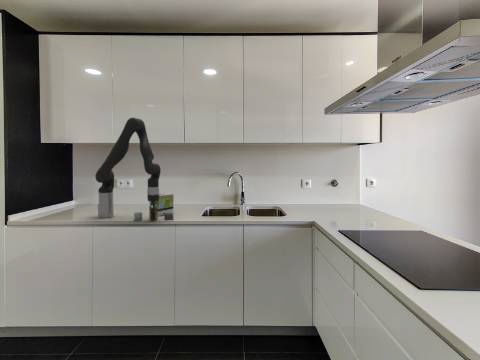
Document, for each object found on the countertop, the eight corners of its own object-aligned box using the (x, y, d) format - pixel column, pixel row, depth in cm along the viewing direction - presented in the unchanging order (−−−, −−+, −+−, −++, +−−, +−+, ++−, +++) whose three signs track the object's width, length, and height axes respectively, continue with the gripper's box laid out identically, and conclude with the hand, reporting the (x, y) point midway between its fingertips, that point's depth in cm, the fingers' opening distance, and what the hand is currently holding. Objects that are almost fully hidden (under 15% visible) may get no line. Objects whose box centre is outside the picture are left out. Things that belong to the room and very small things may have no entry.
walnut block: (149, 220, 199) (149, 211, 198) (150, 219, 203) (150, 210, 203) (156, 220, 200) (156, 211, 199) (157, 219, 204) (157, 210, 203)
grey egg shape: (133, 221, 197) (133, 213, 197) (135, 219, 202) (134, 212, 202) (141, 221, 198) (141, 213, 197) (142, 219, 203) (142, 212, 202)
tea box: (158, 216, 213) (158, 195, 211) (149, 215, 218) (148, 194, 217) (173, 213, 225) (173, 193, 224) (164, 211, 231) (164, 192, 229)
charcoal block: (165, 220, 200) (165, 214, 200) (164, 219, 205) (164, 213, 204) (173, 220, 202) (173, 214, 202) (171, 218, 207) (171, 212, 206)
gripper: (149, 192, 206) (149, 216, 208) (145, 195, 192) (146, 221, 194) (160, 192, 208) (160, 216, 209) (157, 194, 193) (158, 221, 195)
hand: (153, 218), depth 201 cm, fingers closed on walnut block, 4 cm apart
